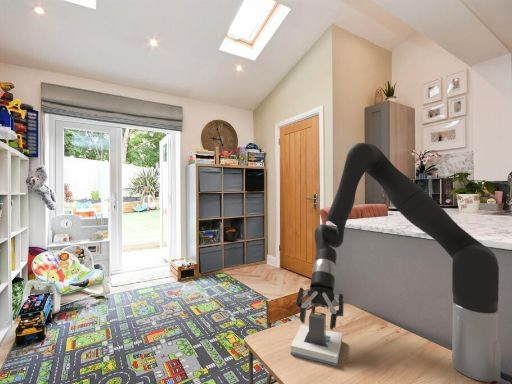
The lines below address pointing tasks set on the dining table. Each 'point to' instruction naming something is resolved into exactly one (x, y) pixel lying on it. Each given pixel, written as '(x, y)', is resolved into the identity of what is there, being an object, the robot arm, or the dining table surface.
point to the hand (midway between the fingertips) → (316, 325)
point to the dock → (317, 346)
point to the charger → (317, 328)
